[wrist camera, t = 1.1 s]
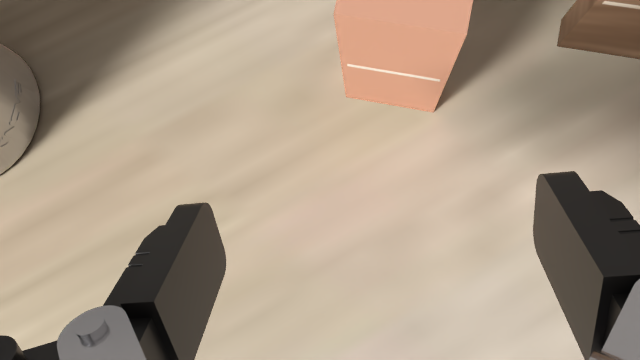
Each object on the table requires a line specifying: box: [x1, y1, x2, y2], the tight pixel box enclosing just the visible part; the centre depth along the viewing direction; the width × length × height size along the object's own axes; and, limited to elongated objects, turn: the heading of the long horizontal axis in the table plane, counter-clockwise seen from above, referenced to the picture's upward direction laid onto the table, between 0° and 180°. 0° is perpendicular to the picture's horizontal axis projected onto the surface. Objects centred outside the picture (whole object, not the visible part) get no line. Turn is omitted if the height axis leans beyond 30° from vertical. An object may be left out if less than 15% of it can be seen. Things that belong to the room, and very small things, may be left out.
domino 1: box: [334, 0, 473, 112], centre depth 24 cm, size 2×5×10 cm, turn 78°
